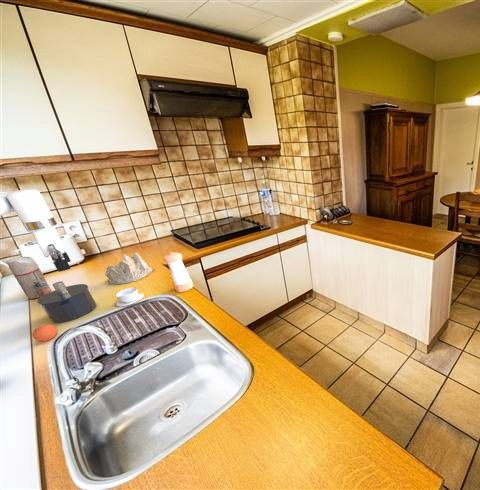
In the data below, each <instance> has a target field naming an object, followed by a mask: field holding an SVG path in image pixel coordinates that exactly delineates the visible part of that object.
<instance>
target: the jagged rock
mask: <svg viewBox="0 0 480 490" xmlns="http://www.w3.org/2000/svg"><path fill="white" fill-rule="evenodd" d="M153 271H154V270H153V268H152V267H151V265H150V266H149V265H148V263H147V260H145V259H144V258H142V257H141V255H140V254H139V253H138V252H134V253H133V256H129V255H128V254H126V253H123V254H122V259H121V260H120V262H119V263H118V264H116V265H114V266H113V265H112V264H110V265H108V267H107V268H106V270H105V272H104V276H105V277H107V279H108V282H109V284H112V285H123V284H129V283H133V282H136V281H139V280H142V279H143V278H145V277H146V276H148V275H149V274H151V273H152V272H153Z"/></svg>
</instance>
